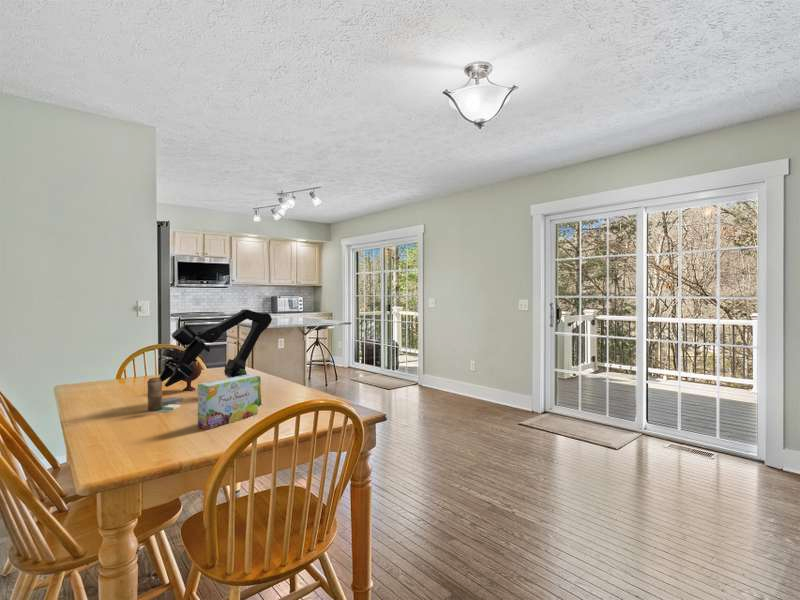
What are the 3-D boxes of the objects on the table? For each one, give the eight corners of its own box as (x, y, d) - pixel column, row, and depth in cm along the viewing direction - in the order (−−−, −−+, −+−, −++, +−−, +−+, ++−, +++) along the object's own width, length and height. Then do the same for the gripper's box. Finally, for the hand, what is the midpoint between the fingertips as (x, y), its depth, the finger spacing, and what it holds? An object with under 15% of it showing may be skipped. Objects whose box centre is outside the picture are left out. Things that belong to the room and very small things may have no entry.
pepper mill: (165, 408, 170) (164, 377, 170) (155, 411, 165) (155, 380, 165) (154, 407, 171) (153, 377, 171) (145, 411, 166) (144, 379, 166)
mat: (181, 407, 172) (181, 404, 172) (166, 413, 164) (166, 410, 164) (159, 406, 174) (159, 403, 174) (143, 412, 166) (143, 408, 166)
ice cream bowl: (206, 387, 206) (205, 356, 206) (193, 393, 195) (192, 360, 195) (185, 387, 207) (184, 356, 207) (170, 393, 196) (170, 359, 196)
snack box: (207, 430, 144) (206, 385, 144) (197, 428, 147) (196, 383, 147) (259, 414, 162) (258, 374, 162) (249, 412, 165) (248, 373, 165)
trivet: (189, 399, 185) (189, 398, 185) (170, 406, 174) (170, 404, 174) (167, 398, 187) (167, 396, 187) (147, 404, 176) (147, 403, 176)
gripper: (168, 338, 180) (138, 368, 172) (184, 342, 166) (152, 375, 159) (188, 355, 185) (160, 385, 178) (205, 360, 172) (176, 393, 165)
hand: (161, 384), depth 170 cm, fingers open, 9 cm apart
